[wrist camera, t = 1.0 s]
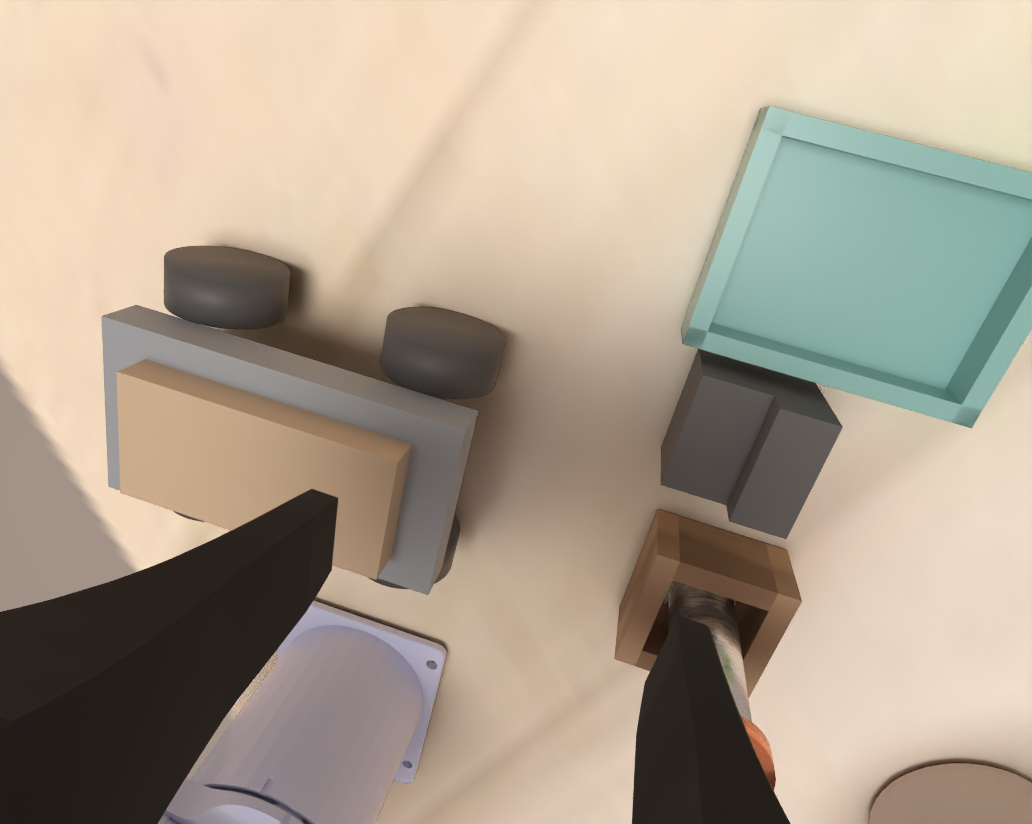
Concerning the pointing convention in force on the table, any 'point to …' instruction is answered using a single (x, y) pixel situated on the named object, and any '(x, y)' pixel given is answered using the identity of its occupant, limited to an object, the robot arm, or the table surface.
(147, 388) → the trolley
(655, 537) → the pin socket
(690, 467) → the block
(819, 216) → the tray
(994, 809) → the coffee cup
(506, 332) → the table surface
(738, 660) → the pin
